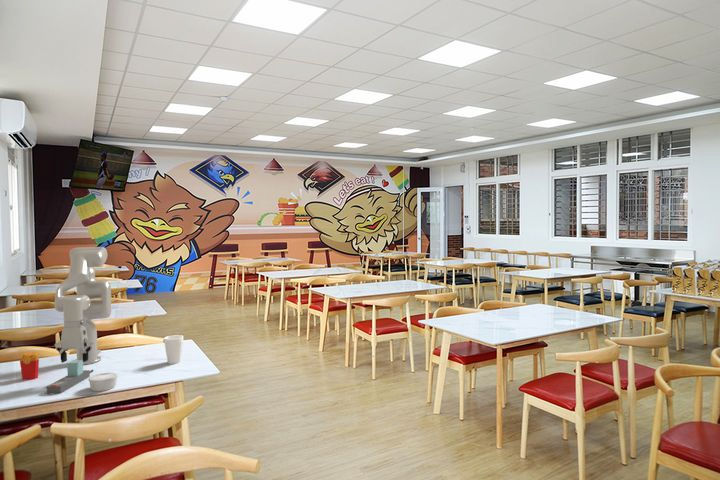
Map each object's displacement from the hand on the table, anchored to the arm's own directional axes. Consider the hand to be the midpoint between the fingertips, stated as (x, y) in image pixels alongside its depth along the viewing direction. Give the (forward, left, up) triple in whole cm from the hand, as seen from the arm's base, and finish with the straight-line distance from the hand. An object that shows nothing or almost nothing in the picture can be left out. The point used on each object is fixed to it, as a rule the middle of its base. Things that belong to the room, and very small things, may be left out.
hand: (74, 361), depth 217 cm
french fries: (-6, -24, -9) cm, 27 cm away
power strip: (0, 0, -9) cm, 9 cm away
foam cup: (-28, +35, -9) cm, 45 cm away
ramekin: (+9, +18, -10) cm, 22 cm away
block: (-1, 0, -8) cm, 8 cm away
